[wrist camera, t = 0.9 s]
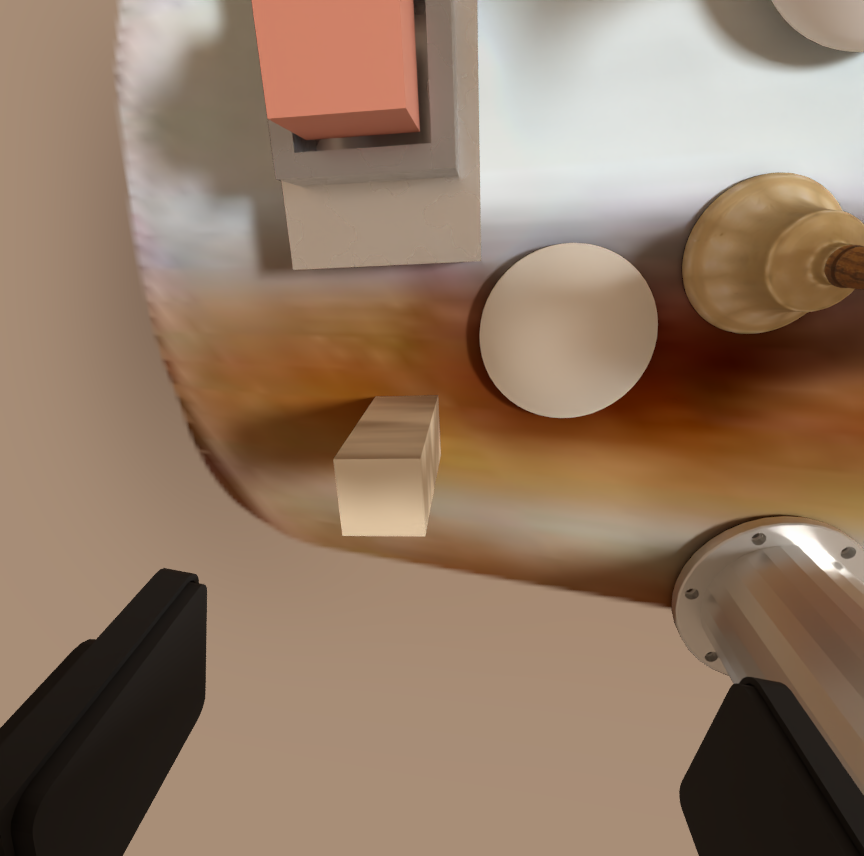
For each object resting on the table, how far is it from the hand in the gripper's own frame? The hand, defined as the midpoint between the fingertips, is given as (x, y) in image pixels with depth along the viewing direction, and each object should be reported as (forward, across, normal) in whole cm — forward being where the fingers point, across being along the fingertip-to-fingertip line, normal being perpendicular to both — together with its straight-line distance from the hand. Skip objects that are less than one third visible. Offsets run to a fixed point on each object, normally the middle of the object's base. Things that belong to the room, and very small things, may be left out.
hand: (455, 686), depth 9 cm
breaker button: (+18, +7, -13) cm, 23 cm away
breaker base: (+25, +7, -13) cm, 29 cm away
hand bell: (+24, -15, -9) cm, 30 cm away
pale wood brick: (+24, +3, +5) cm, 25 cm away
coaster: (+24, -5, -3) cm, 25 cm away
